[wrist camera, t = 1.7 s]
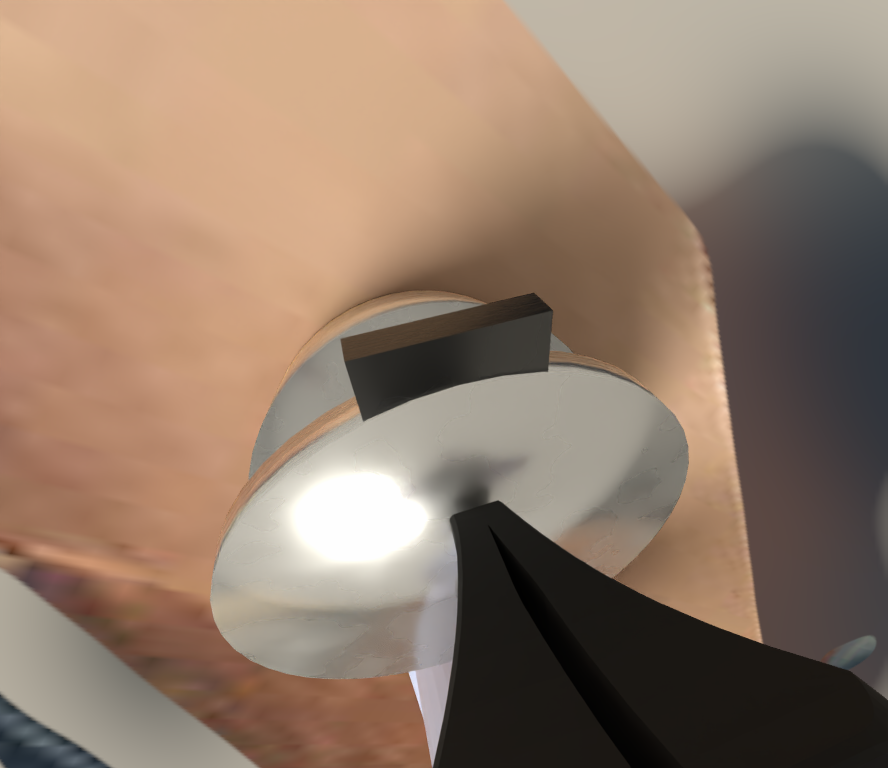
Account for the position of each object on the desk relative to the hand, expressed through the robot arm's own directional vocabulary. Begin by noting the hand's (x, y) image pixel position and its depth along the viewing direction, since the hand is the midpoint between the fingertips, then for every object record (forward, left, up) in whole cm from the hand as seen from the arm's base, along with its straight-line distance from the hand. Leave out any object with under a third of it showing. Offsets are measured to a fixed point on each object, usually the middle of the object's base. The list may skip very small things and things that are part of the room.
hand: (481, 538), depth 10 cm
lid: (-2, 0, -2) cm, 3 cm away
